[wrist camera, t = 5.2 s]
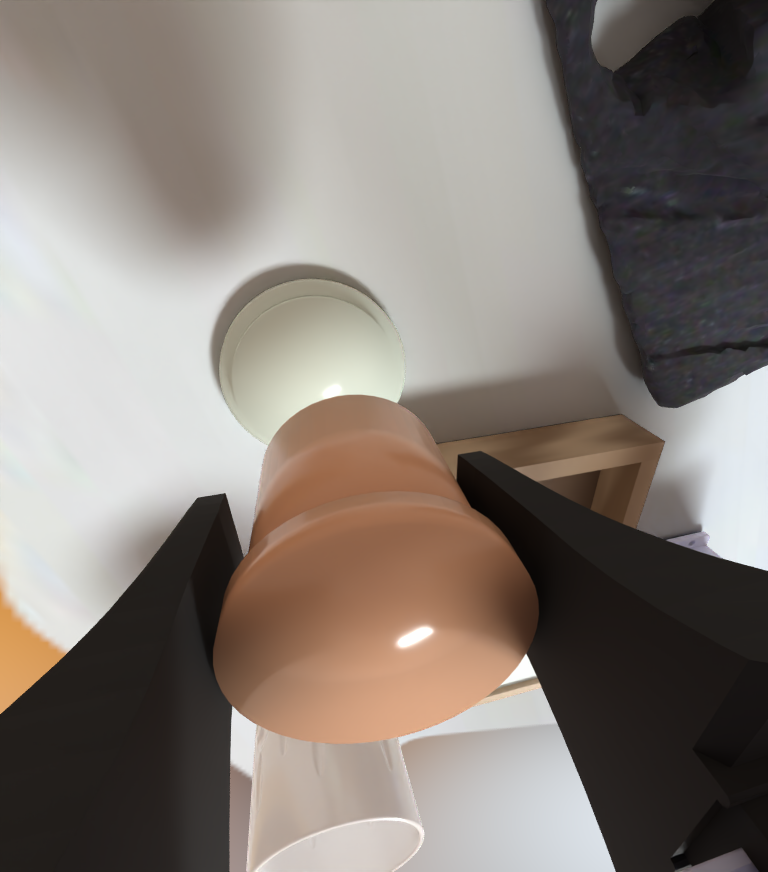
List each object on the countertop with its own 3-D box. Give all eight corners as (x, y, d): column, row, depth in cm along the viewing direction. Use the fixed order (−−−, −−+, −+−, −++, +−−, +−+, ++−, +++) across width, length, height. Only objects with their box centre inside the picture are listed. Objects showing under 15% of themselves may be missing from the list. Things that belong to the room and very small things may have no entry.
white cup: (240, 695, 28) (227, 920, 19) (269, 610, 24) (270, 832, 16) (355, 694, 30) (389, 888, 22) (395, 617, 27) (452, 809, 19)
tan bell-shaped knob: (440, 364, 11) (546, 487, 6) (454, 529, 14) (534, 701, 9) (221, 407, 11) (153, 574, 6) (280, 568, 13) (267, 771, 9)
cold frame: (621, 414, 23) (681, 452, 20) (583, 560, 29) (624, 609, 25) (368, 455, 21) (387, 506, 17) (379, 606, 26) (395, 667, 23)
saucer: (400, 270, 17) (407, 274, 16) (404, 437, 21) (409, 447, 20) (198, 287, 16) (194, 293, 15) (242, 462, 19) (240, 474, 19)
